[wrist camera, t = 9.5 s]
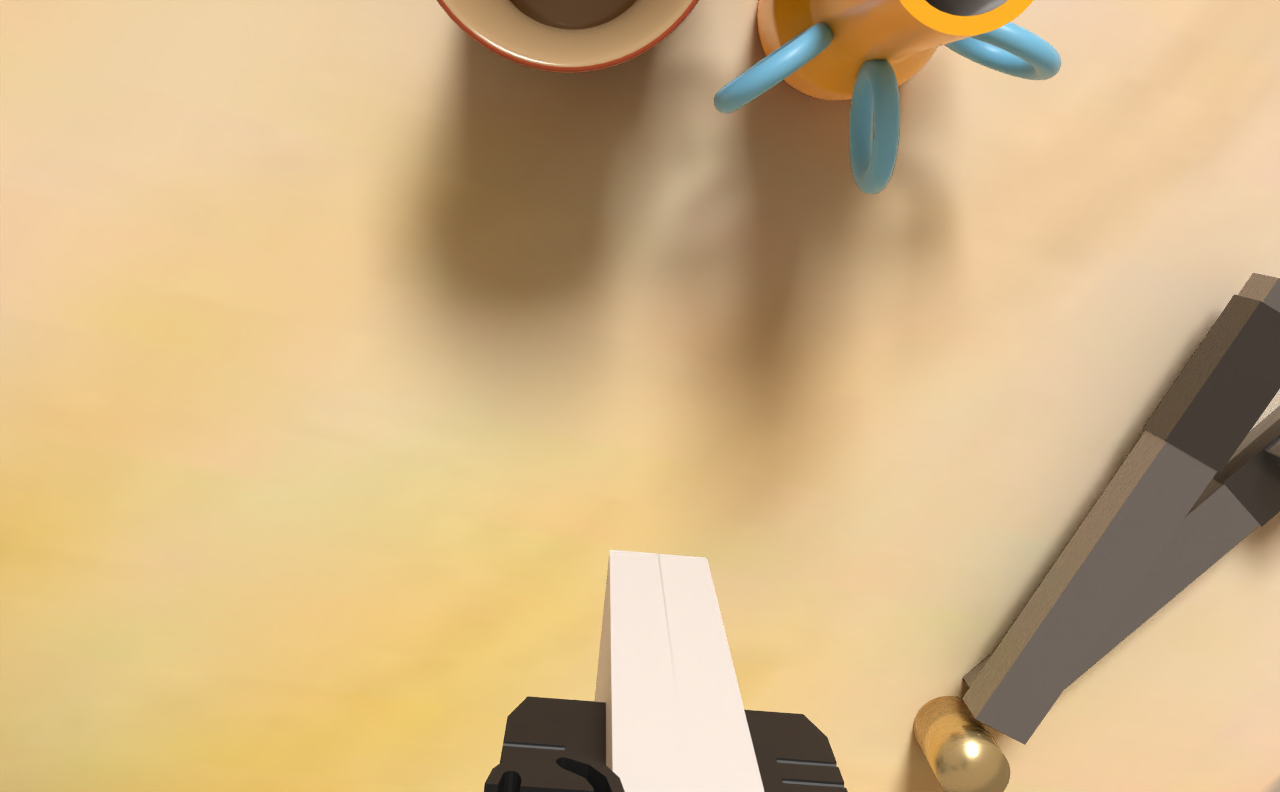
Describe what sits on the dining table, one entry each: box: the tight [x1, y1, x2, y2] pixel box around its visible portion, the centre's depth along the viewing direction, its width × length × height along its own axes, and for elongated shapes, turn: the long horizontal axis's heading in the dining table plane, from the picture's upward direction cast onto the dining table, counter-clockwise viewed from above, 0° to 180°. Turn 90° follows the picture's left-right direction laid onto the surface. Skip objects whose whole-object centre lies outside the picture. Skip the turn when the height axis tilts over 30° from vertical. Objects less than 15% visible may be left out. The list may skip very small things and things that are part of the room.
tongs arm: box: [962, 273, 1280, 744], centre depth 42 cm, size 20×3×2 cm, turn 151°
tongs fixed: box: [914, 406, 1280, 792], centre depth 43 cm, size 23×3×4 cm, turn 134°
